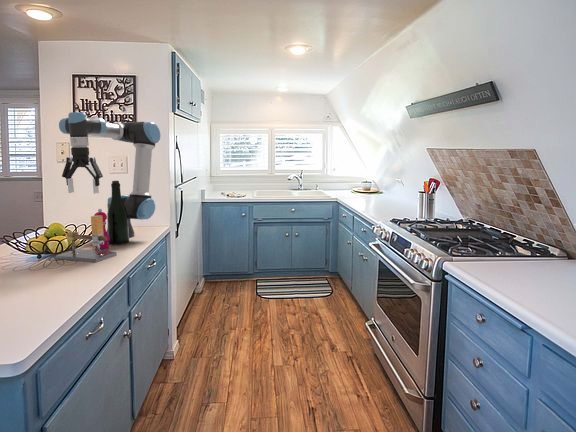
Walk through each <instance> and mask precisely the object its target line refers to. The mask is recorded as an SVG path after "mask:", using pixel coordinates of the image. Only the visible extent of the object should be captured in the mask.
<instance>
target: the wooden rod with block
mask: <svg viewBox="0 0 576 432" xmlns="http://www.w3.org/2000/svg"><path fill="white" fill-rule="evenodd" d="M66 239H67V240H66V241H68V240H69V241H71V249H72V250H71V251H72V252H73V253H75V250H76V242H75V240H90V241H92V235H89V234H79V231H71V232H66ZM99 240H100V241H105V240H107V237H104V236H99Z"/></svg>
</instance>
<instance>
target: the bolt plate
mask: <svg viewBox="0 0 576 432" xmlns="http://www.w3.org/2000/svg"><path fill="white" fill-rule="evenodd" d="M99 252H100V253H98V250H97V249H84V248H83V249H82V248H75V253H73V252H72V250H70V251H65V252H63V253H60V254H59V253H58V254H55V259H56V260H65V261H78V262H87V263H88V262H89V263H98V261H99V262H102V261H103V260H106V259H109V258H112V257H113V258H114V257H115V256H117V251H109V250H108V251H107V250H100V251H99Z"/></svg>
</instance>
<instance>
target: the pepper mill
mask: <svg viewBox="0 0 576 432" xmlns="http://www.w3.org/2000/svg"><path fill="white" fill-rule="evenodd" d="M97 211H98V212H95V214H94V215H93V216H96V215H100V216H102V217H103V233H104V237H107V240H105V241H104V244H100V251H105V250H108V249H110V244H109V243H108V242H109V241H110V239H109V236H108V234H107V228H106V225H107V213H105V211H104V212H103V210H102V208H98V210H97ZM94 247H95V250H97V251H98V249H97V246H94Z"/></svg>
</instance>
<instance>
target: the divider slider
mask: <svg viewBox="0 0 576 432" xmlns="http://www.w3.org/2000/svg"><path fill="white" fill-rule="evenodd" d="M90 227H91V236H92V240H91V241H92V247H95V246H97V249H98V250H97V249H96V250H97V251H98V253H100V252H99V251H101V250H100V244H104V241H100V240H99V236H104V233H103V217H102V216H100V215H96V216H94V215H93V216H90Z"/></svg>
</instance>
